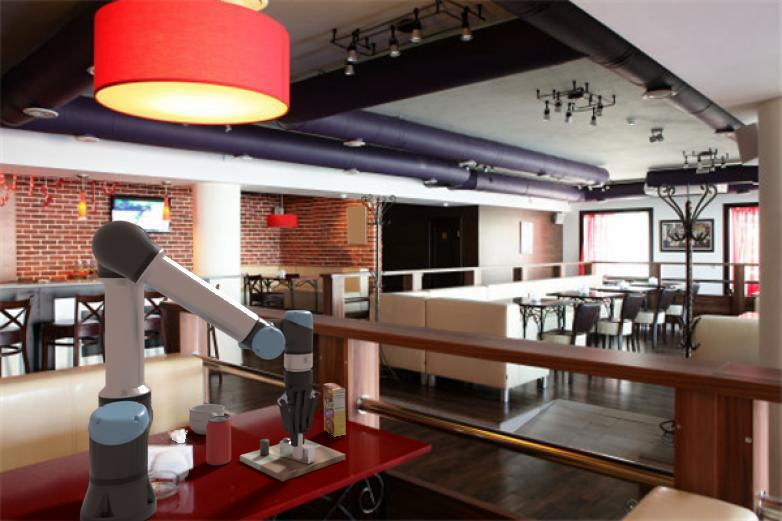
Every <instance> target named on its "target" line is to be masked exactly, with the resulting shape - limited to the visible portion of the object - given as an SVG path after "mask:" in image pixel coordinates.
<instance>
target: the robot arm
mask: <svg viewBox="0 0 782 521" xmlns="http://www.w3.org/2000/svg"><path fill="white" fill-rule="evenodd" d="M91 251H92V252H91V253H92V254H93V257H94V259H95V261H97V262H96V264H97V280H98V281H99V282H100V283H101V284H103V286H104V336H105V337H104V338H105V339H104V342H105V344H104V347H105V348H104V353H105V355H104V357H105V358H104V359H105V360H104V362H105V366H104V367H105V368H104V369H105V372H104V373H105V375H104V376H105V377H104V378H105V383H104V384H105V385H104V387H103V388H101V390H100V391H99V392H98V396H97V397H98V401H97V403H98V407H97V408H96V409H95V410H93V411H92V413H91V415H90V416H89V422H88V424H87V432H88V435H89V436H88V440H89V442H88V446H89V448H88V449H89V450H88V451H89V452H88V458H89V460H88V464H89V465H88V466H89V467H88V470H89V471H88V472H89V473H88V474H89V476H88V477H89V478H88V480H89V482H88V487H87V491H86V493H85V497H84V499H83V502H82V505H81V508H80V514H79V521H146V520H148V519H150V517H152V516H153V515H154V514H155V513H156V512H157V510H158V509H157V508H158V506H157V503H158V501H157V494H156V493H155V490H154V488H153V484H152V482H151V479H150V477H149V436H150V431H151V427H152V424H153V422H154V421H153V420H154V411H153V406H152V387H151V386H150V385H148V384H147V383H146V382H145V376H146V374H145V285H146V286H148V287H150V288H151V289H153V290H155V291H156V292H158V293H160V294H161V295H162V296H164V297H166V298H167V299H168V300H170V301H172V302H173V303H176V304H177V305H179V306H180V307H182V308H183V309H185V310H187V311H189V312H190V313H191V314H193V315H195V316H196V317H198V318H199V319H201V320H203V321H204V322H206V323H207V324H209V325H211V326H212V327H214V328H215V329H217V330H219V331H220V332H222V333H223V334H225V335H227V336H228V337H230V338H231V339H233V340H235V341H236V342H237V346H238V348H240V349H241V350H243V349H244V350H245V349H246V350H251V351H252V352H253V353H254V354H255V355H256V356H257V357H259V358H261V359H263V360H273V359H276V358H278V357H279V356H280V355H281V354H282V353H284V354H283V355H284V356H283V357H284V358H283V367H284V368H285V369H284V371H283V383H284V390H283V393H282V395H281V396H280V397H276V399H275V402H276V404H277V405H278V409H279V412H280V417H281V421H282V422H281V423H282V426H283V431H284V432H286V433H287V434H290V438H291V446H293V457H294V458H297V459H302V449H303V444H304V442H305V439H306V436H305V435H306V434H307V433H308V430H311V429H312V426H313V424H312V423H313V421H314V415H315V410H316V406H317V402H318V399H319V397H320V392H318V391H315V390H314V389H313V388H314V387H313V385H312V383H313V382H314V380H313V377H314V375H313V372H314V371H313V366H314V364H313V363H314V360H313V358H314V353H313V351H314V348H313V346H314V342H313V340H314V321H313V320H314V318H313V317H314V316H313V313H312V312H311V311H309V310H304V309H303V310H298V309H296V310H287V311H285V312H284V316H283V318H282V317H281V318H270V319H269V318H262V317H260V316H259V315H257V313H255V312H252V311H251V310H250V309H248V308H246V307H245V306H244V305H242V304H240V303H239V302H238V301H236V300H234V299H233V298H231V297H230V296H228V295H227V294H225V293H224V292H222V291H221V290H219V289H218V288H216V287H214V286H213V285H211V284H210V283H208V282H207V281H205V280H203V278H200V277H199V276H197V275H196V274H194V273H193V272H191V271H190V270H188V269H187V268H185V267H184V266H182V265H181V264H179V263H177V262H176V261H175V260H173V259H172V258H170V257H169V256H167V255H166V252H165V249H164V248H163V247H161V246H160V245H159V244H157V243H156V242H154V241H153V240H152V239H151V237H150V235H149V233H148V232H147V231H146V230H145V229H144V228H143V227H141V226H140V225H138V224H137V223H133V222H131V221H127V220H113V221H108V222H106V223H104V224H103V225H101V226H100V227H99V228H98V229H96V231H95V233H94V235H93V237H92V240H91Z"/></svg>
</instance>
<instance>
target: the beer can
mask: <svg viewBox="0 0 782 521" xmlns="http://www.w3.org/2000/svg"><path fill="white" fill-rule="evenodd" d="M205 439H206V440H205V441H206V442H205V446H206V447H205V449H206V450H205V451H206V453H205V458H206V460H205V461H206V463H207V464H208V465H209V466H224V465H225V464H229V463H230V461H231V460H232V423H231V421H230V416H227V415H224V416H214V417H211V418H209V419H208V423H207V426H206V434H205Z"/></svg>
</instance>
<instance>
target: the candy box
mask: <svg viewBox="0 0 782 521" xmlns="http://www.w3.org/2000/svg"><path fill="white" fill-rule="evenodd" d="M323 429H324V431H325V430H326V431H327V432H328V434H329V433H330V434H331V435H333V436H334V437H336V436H341V435H347V434H346V429H347V427H346V388H344V387H342V386H341V385H339V384H337V383H335V382H331V383H330V382H329V383H324V384H323ZM326 431H325V432H326ZM327 432H326V433H327ZM330 434H329V435H330ZM331 435H330V436H331ZM333 436H332V437H333ZM334 437H333V438H334Z"/></svg>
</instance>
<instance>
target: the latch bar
mask: <svg viewBox="0 0 782 521" xmlns="http://www.w3.org/2000/svg"><path fill="white" fill-rule="evenodd" d="M279 444H280V456H282V457H284V458H289V459H292V460H296V461H299V462H303V463H306V464H309V463H311V462H314V461H315V446H312V445H308V444H305V443H304V444H303V449H302V459H297V458H294V457H293V446H291V437H283V438H282V440H280V441H279Z"/></svg>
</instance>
